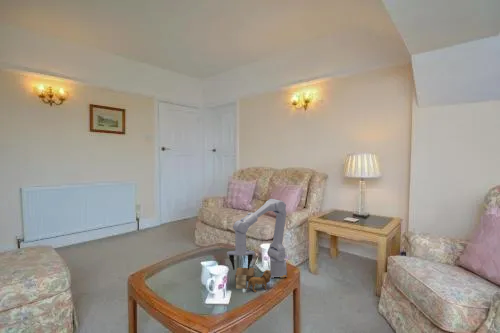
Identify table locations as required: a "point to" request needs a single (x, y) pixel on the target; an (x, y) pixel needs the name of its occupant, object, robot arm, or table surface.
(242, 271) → the walnut block
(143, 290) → the table surface
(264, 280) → the lion figurine
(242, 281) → the maple cube
